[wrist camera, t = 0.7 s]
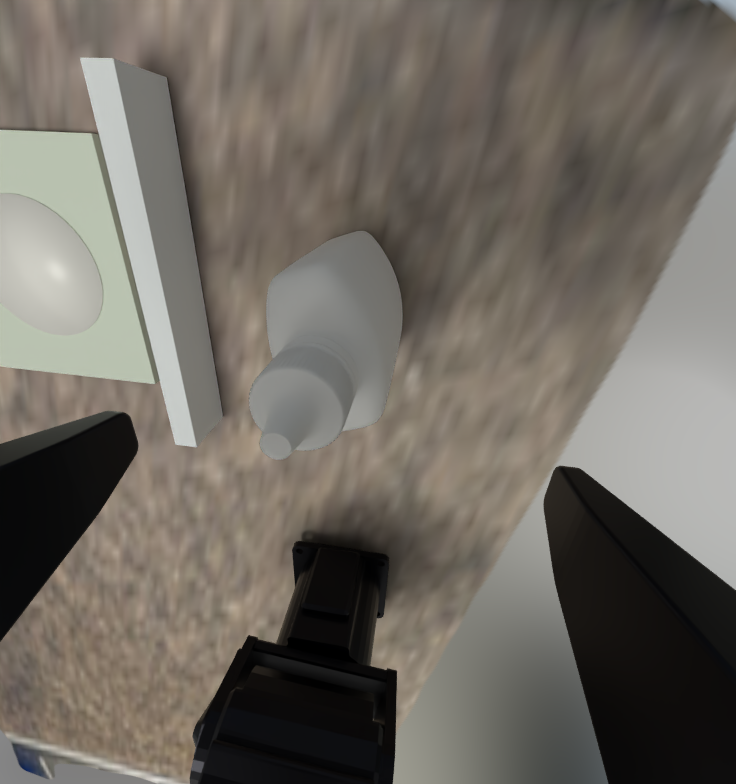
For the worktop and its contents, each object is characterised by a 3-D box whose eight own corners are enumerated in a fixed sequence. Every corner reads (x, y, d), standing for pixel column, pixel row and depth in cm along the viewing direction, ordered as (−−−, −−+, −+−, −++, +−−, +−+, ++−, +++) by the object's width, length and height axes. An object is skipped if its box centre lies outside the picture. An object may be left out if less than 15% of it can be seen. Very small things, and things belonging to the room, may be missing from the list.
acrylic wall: (223, 416, 23) (196, 447, 21) (204, 414, 24) (175, 444, 21) (166, 77, 16) (113, 58, 13) (138, 76, 16) (79, 57, 13)
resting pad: (159, 380, 23) (154, 384, 22) (6, 363, 24) (-2, 367, 24) (98, 134, 17) (89, 133, 17) (-102, 126, 18) (-115, 125, 18)
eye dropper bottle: (311, 336, 20) (180, 511, 10) (329, 219, 17) (170, 291, 7) (394, 358, 20) (350, 558, 10) (426, 244, 17) (411, 354, 7)
